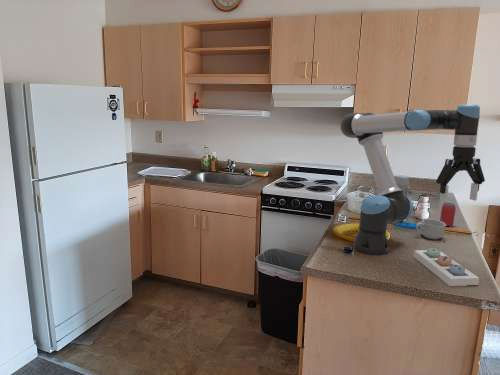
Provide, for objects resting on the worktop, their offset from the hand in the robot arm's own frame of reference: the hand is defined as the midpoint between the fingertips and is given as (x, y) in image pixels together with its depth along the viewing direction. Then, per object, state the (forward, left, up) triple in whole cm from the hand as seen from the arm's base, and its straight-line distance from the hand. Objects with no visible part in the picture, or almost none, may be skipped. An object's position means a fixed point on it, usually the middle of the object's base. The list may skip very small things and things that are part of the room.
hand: (458, 200), depth 150 cm
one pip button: (-4, +5, -26) cm, 27 cm away
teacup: (+11, +33, -28) cm, 45 cm away
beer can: (+31, +50, -28) cm, 65 cm away
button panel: (-4, -3, -28) cm, 28 cm away
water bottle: (+8, +58, -28) cm, 65 cm away
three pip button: (-4, -3, -26) cm, 26 cm away
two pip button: (-4, -11, -26) cm, 28 cm away
